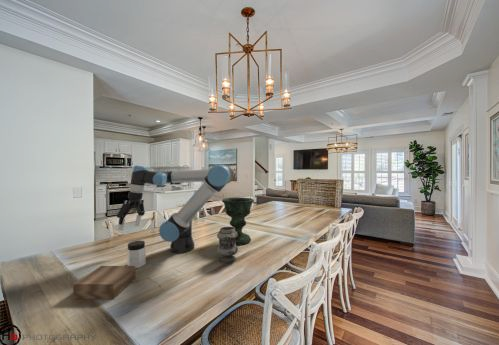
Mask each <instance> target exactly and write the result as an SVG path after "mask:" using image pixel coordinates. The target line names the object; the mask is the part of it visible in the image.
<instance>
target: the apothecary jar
mask: <svg viewBox="0 0 499 345" xmlns="http://www.w3.org/2000/svg"><path fill="white" fill-rule="evenodd" d="M237 236H238V233H237V232H236V231H235V228H234V227H232V226H231V225H230V226H229V225H228V226H223V227H220V228H219V231H218V232H217V234H216V238H218V247H217V249H216V252H217V254H218V255H220V257H218V260H219V262H220V263H223V264H230V263H234V262H235V261H237V257H236V256H235V255H236V254H237V253H238V251H239V247H238V245H236V238H237Z"/></svg>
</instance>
